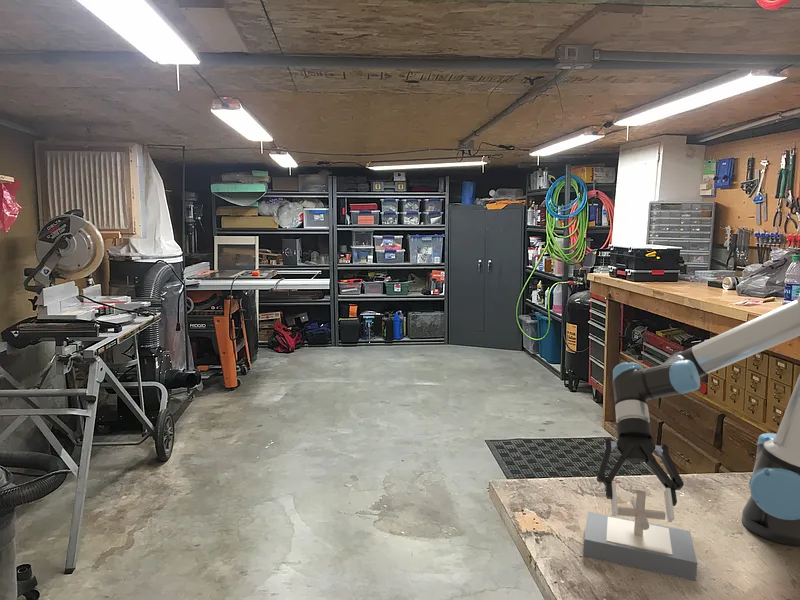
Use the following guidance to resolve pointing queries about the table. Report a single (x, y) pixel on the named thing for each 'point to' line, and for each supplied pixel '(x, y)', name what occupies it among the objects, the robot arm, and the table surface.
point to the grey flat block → (640, 546)
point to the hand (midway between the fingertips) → (642, 517)
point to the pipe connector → (640, 513)
